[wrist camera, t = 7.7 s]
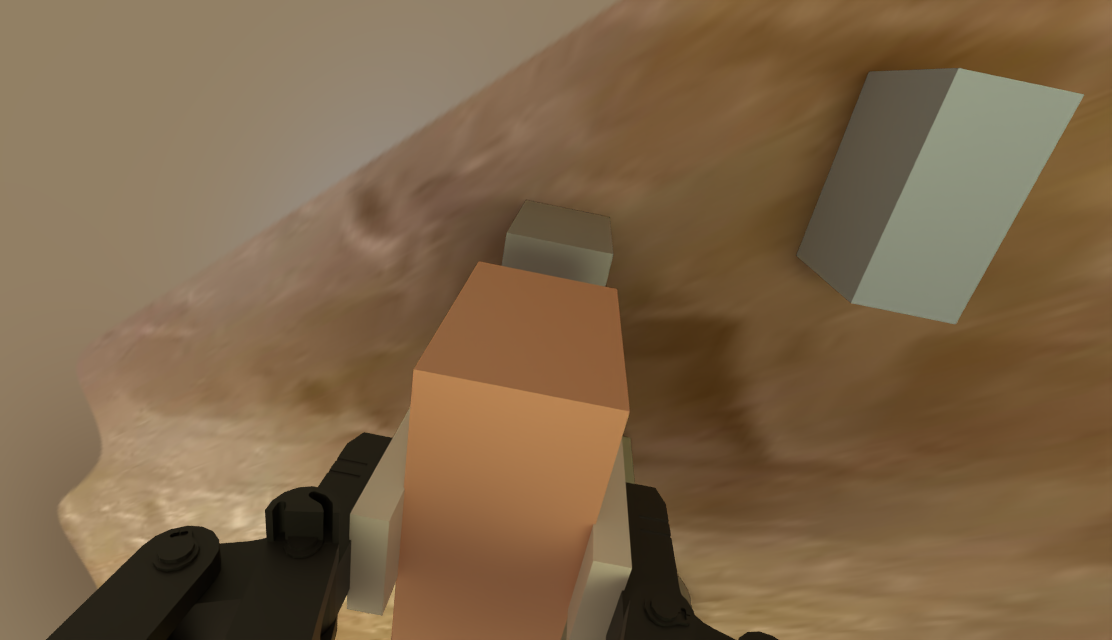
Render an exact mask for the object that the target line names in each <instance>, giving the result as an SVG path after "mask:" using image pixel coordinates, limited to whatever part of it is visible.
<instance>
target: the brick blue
mask: <svg viewBox="0 0 1112 640" xmlns="http://www.w3.org/2000/svg"><path fill="white" fill-rule="evenodd" d="M1083 96H1084V94H1079V93H1075V92H1070V91H1065V90H1060V89H1056V88H1051V87H1046V86H1041V85H1037V84H1032V83H1027V82H1022V81H1018V80H1013V79H1008V78H1003V77H999V76H994V75H989V74H984V73H980V72H975V71H970V70H965V69H961V68H949V69H924V70H898V71H873V72H869V73H868V75H867V78H866V80H865V83H864V85H863V88H862V91H861V93H860V96H859V98H858V101H857V103H856V106H855V108H854V111H853V113H852V116H851V118H850V121H849V123H848V126H847V128H846V131H845V133H844V136H843V139H842V141H841V144H840V146H839V149H838V151H837V154H836V156H835V159H834V161H833V164H832V166H831V169H830V171H829V174H828V176H827V179H826V181H825V184H824V187H823V189H822V192H821V194H820V197H819V199H818V202H817V204H816V207H815V209H814V212H813V214H812V217H811V219H810V222H809V224H808V227H807V229H806V232H805V235H804V237H803V240H802V242H801V245H800V247H799V250H798V252H797V255H796V256H797V257H798V258H800V259H801V260H802V261H803V262H804V263H805V264H807V265H808V266H809V267H810V268H811V269H812V270H813V271H815V272H816V273H817V274H818V275H819V276H820V277H821V278H823V279H824V280H825V281H826V282H827V283H828V284H830V285H831V286H832V287H833V288H834V289H835V290H836V291H838V292H839V293H840V294H841V295H842V296H843V297H845V298H846V299H847V300H848V301H849V302H850V303H853V304H858V305H863V306H868V307H873V308H878V309H883V310H888V311H893V312H898V313H902V314H907V315H912V316H917V317H922V318H927V319H932V320H937V321H942V322H947V323H951V324H956V323H957V321H958V319H959V317H960V316H961V314H962V312H963V310H964V308H965V307H966V305H967V303H968V301H969V299H970V298H971V296H972V294H973V292H974V291H975V289H976V287H977V285H978V283H979V282H980V280H981V278H982V276H983V274H984V273H985V271H986V269H987V267H988V266H989V264H990V262H991V260H992V258H993V257H994V255H995V253H996V251H997V250H998V248H999V246H1000V244H1001V242H1002V241H1003V239H1004V237H1005V235H1006V233H1007V232H1008V230H1009V228H1010V226H1011V225H1012V223H1013V221H1014V219H1015V217H1016V216H1017V214H1018V212H1019V210H1020V208H1021V207H1022V205H1023V203H1024V201H1025V200H1026V198H1027V196H1028V194H1029V192H1030V191H1031V189H1032V187H1033V185H1034V183H1035V182H1036V180H1037V178H1038V176H1039V175H1040V173H1041V171H1042V169H1043V167H1044V166H1045V164H1046V162H1047V160H1048V158H1049V157H1050V155H1051V153H1052V151H1053V150H1054V148H1055V146H1056V144H1057V142H1058V141H1059V139H1060V137H1061V135H1062V133H1063V132H1064V130H1065V128H1066V126H1067V125H1068V123H1069V121H1070V119H1071V117H1072V116H1073V114H1074V112H1075V110H1076V108H1077V107H1078V105H1079V103H1080V101H1081V100H1082V98H1083Z"/></svg>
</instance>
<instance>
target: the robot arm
mask: <svg viewBox="0 0 1112 640" xmlns="http://www.w3.org/2000/svg"><path fill="white" fill-rule="evenodd" d="M409 418H410V408H409V410H408V412H407V413H406V415H405V417H404V419H403V421H402V422H401V424H400V426H399V428H398V430H397V431H396V433H395V435H394V437H393V438H390V437H385V436H380V435H375V434H370V433H365V432H364V433H362V434H361V435H359V436H358V437H356V438H355V439H353V440H352V441H350V442H349V443H347V445H346V446H345V448H344V449H343V451H342V452H341V454H340V455H339V457H338V459H337V461H335V463H334V464H333V466H332V467H331V469H330V471H329V473H327V474H326V476H325V477H324V479H323V480H322V482H321V483H320V485H319V486H318V487H313V486H311V487H299V488H296V489H293V490H290V491H287V492H284V493H283V494H281V495H280V496H278V497H277V498H275V499H274V500H272V502H271V503H270V504H269V506H268V507H267V508H266V510H265V518H266V535H267V538H264V539H260V540H254V541H247V542H235V543H222V544H219V539H218V538H217V536H216V535H215V533H214V532H213V531H211V530H209V529H206V528H204V527H199V526H185V527H180V528H175V529H171V530H168V531H166V532H164V533H162V534H159V535H157V536H155V537H154V538H152V539H151V540H150V541H148V542H147V543H146V544H144V545H143V546H142V547H141V548H140V549H139V550H138V551H137V552H136V553H135V554H134V555H133V556H131V557H130V558H129V559H128V560H127V561H126V562H125V563H124V564H123V565H122V566H121V567H120V568H119V569H118V570H117V571H116V572H115V573H114V574H113V575H112V576H111V577H110V578H109V579H108V580H107V581H106V582H105V583H104V584H103V585H102V586H101V587H100V588H99V589H98V590H97V591H96V592H95V593H94V594H92V595H91V596H90V597H89V599H87V600H86V601H85V602H84V603H83V604H82V605H81V606H80V607H79V608H78V609H77V610H76V611H75V612H74V613H73V614H72V615H71V616H70V617H69V618H68V619H67V620H66V621H65V622H64V623H63V624H62V625H61V626H60V627H59V628H58V629H56V631H54V633H53V634H51V635H50V636H49V638H47V639H46V640H335V637H336V632H337V616H338V612H339V610H340V608H341V606H342V604H343V602H344V600H345V598H346V596H347V609H350V610H355V611H360V612H366V613H371V614H376V615H383V612H384V610H385V607H386V605H387V602H388V600H389V597H390V595H391V592H392V590H393V587H394V585H395V582H396V580H397V576H398V564H399V552H400V540H401V528H402V516H403V504H404V492H405V488H404V479H405V467H406V454H407V442H408V430H409ZM670 535H671V533H670V527H669V524H668V515H667V509H666V504H665V502H664V501H663V499H662V498H661V496H660V495H659V493H658V491H657V490H656V488H653V487H648V486H643V485H637V484H632V483H627V482H625V470H624V457H623V444H622V439H621V442H620V446H619V449H618V452H617V456H616V459H615V462H614V466H613V469H612V472H611V475H610V479H609V482H608V485H607V489H606V492H605V495H604V499H603V502H602V505H601V509H600V512H599V515H598V518H597V522H596V524H593V527H592V531H591V534H590V537H589V541H588V544H587V547H586V551H585V554H584V557H583V561H582V564H581V567H580V571H579V574H578V577H577V581H576V584H575V587H574V591H573V594H572V597H571V601H570V604H569V607H568V618H567V638H566V640H735V639H733V638H731V637H729V636H727V635H725V634H723V633H721V632H719V631H717V630H715V629H713V628H712V627H710V626H708V625H707V624H705V623H703V622H702V621H701V620H700V619H699V618H698V617H696V616H695V615H694V611H693V610H692V608H691V606H690V604H689V603H688V601H687V599H685V598H684V597H683V596H682V594H681V591H680V587H679V581H678V575H677V569H676V563H675V557H674V551H673V545H672V539H671V538H670ZM738 640H778V639H776V638H775V637H773V636H771V635H768V634H765V633H762V632H747V633H746V634H744V635H743V636H741V637H739V639H738Z"/></svg>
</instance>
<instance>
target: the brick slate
mask: <svg viewBox="0 0 1112 640" xmlns="http://www.w3.org/2000/svg"><path fill="white" fill-rule="evenodd" d="M612 258H613V246H612V236H611V226H610V217H607V216H602V215H597V214H592V213H587V212H582V211H578V210H573V209H568V208H563V207H558V206H553V205H548V204H543V203H539V202H534V201H529V200H526V201H525V203H524V204H523V206H522V208H521V209H520V211H519V213H518V214H517V216H516V218H515V219H514V221H513V223H512V225H511V226H510V228H509V230H508V231H507V234H506V240H505V247H504V253H503V260H502V266H505V267H510V268H515V269H520V270H525V271H530V272H535V273H540V274H545V275H550V276H555V277H560V278H565V279H569V280H574V281H579V282H584V283H589V284H594V285H599V286H604V287H605V286H606V282H607V278H608V274H609V270H610V266H611V262H612Z"/></svg>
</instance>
